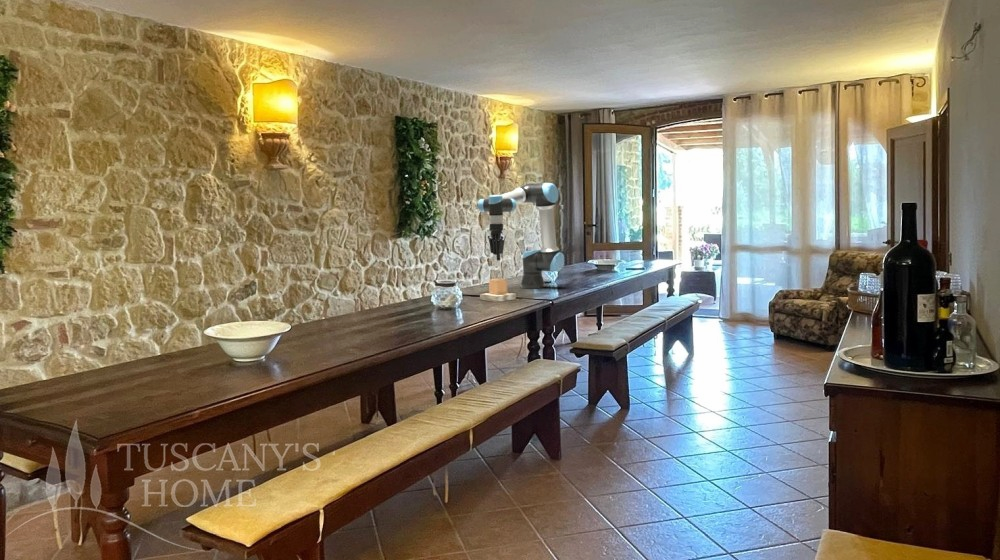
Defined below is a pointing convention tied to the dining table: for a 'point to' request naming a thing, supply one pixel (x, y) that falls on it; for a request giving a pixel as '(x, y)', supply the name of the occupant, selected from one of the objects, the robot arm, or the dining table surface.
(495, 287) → the orange block
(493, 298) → the hub
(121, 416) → the dining table surface
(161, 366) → the dining table surface
